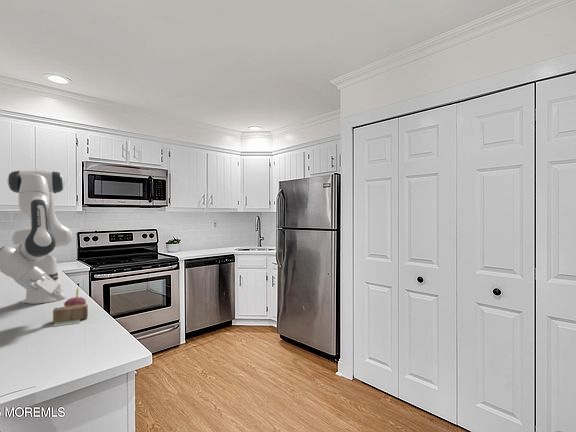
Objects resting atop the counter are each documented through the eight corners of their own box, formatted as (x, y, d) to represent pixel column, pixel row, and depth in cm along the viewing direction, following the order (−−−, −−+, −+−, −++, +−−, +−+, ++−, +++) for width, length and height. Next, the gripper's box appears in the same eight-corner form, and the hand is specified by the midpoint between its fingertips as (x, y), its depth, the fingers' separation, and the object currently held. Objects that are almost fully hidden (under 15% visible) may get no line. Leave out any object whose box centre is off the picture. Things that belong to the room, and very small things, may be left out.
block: (54, 307, 141) (87, 304, 146) (55, 319, 141) (87, 315, 146) (52, 310, 136) (86, 306, 142) (53, 322, 136) (86, 318, 142)
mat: (58, 317, 145) (58, 316, 145) (82, 314, 149) (82, 313, 149) (53, 326, 133) (53, 325, 133) (79, 323, 137) (79, 322, 137)
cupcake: (90, 311, 153) (90, 285, 153) (71, 316, 146) (71, 289, 146) (78, 309, 157) (78, 284, 157) (60, 314, 149) (59, 288, 149)
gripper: (33, 276, 127) (64, 298, 132) (43, 268, 145) (70, 288, 150) (19, 289, 125) (51, 311, 130) (31, 280, 143) (58, 299, 148)
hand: (61, 298), depth 140 cm, fingers closed
